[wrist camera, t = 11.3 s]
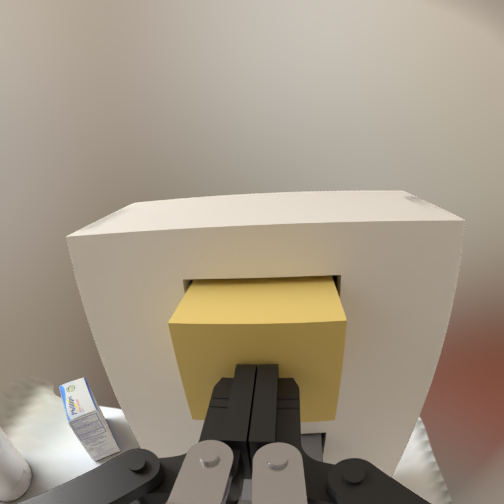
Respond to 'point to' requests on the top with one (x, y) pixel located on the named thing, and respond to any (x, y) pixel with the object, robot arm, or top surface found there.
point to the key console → (277, 265)
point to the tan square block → (262, 337)
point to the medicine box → (87, 419)
